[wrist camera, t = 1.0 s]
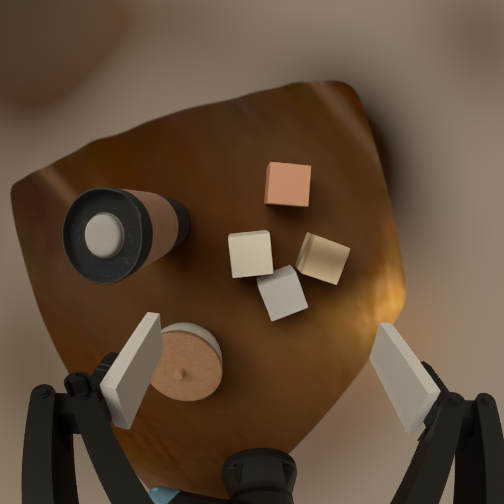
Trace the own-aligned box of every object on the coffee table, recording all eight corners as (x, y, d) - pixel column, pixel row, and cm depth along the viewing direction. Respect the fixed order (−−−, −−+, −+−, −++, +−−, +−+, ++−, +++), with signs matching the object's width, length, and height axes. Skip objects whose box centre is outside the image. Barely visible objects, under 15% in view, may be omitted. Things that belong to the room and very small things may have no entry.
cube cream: (269, 265, 41) (273, 273, 36) (233, 269, 41) (232, 278, 36) (266, 230, 40) (269, 233, 35) (229, 233, 40) (228, 237, 35)
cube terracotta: (300, 206, 40) (308, 206, 35) (264, 203, 39) (267, 202, 35) (302, 171, 39) (310, 166, 34) (266, 167, 39) (270, 161, 34)
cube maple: (326, 276, 41) (336, 285, 36) (294, 265, 41) (301, 273, 36) (338, 243, 41) (350, 248, 36) (306, 232, 40) (315, 235, 35)
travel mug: (139, 248, 40) (61, 280, 20) (142, 194, 39) (62, 185, 19) (190, 252, 40) (143, 292, 20) (194, 197, 39) (147, 186, 19)
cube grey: (300, 296, 42) (308, 307, 37) (268, 308, 42) (271, 321, 37) (289, 264, 41) (295, 272, 36) (256, 277, 41) (258, 286, 36)
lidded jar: (178, 297, 41) (161, 321, 32) (239, 337, 42) (238, 370, 33) (145, 348, 42) (125, 379, 33) (201, 384, 43) (194, 420, 34)
